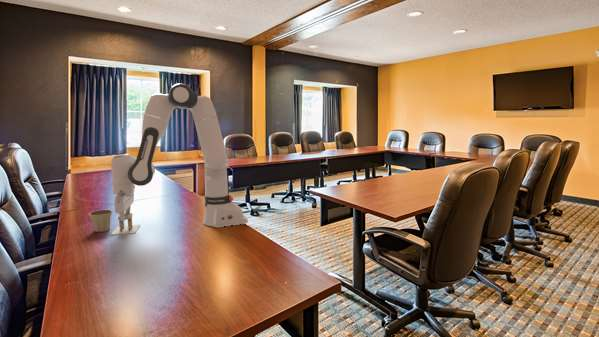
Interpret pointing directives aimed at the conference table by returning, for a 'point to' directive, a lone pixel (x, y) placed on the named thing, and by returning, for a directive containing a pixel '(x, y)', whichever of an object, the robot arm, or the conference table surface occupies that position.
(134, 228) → the mat
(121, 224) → the stool
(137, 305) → the conference table surface
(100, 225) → the flower pot
